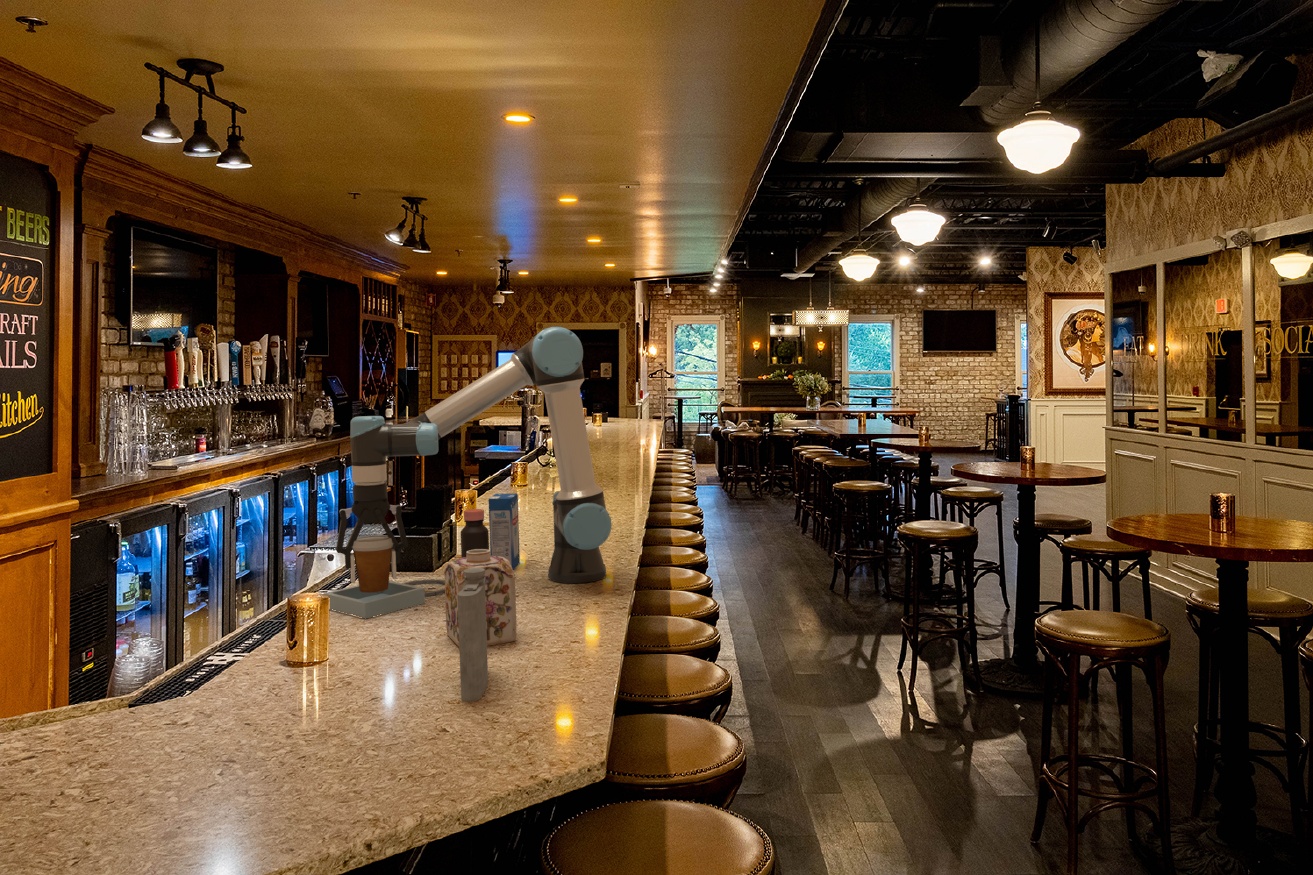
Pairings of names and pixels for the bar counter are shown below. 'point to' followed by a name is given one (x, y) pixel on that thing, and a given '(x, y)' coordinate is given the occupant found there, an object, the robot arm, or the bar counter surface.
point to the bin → (376, 599)
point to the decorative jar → (496, 595)
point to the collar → (429, 582)
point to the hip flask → (473, 635)
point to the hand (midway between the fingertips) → (373, 579)
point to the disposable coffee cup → (373, 562)
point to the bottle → (474, 532)
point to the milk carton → (504, 527)
